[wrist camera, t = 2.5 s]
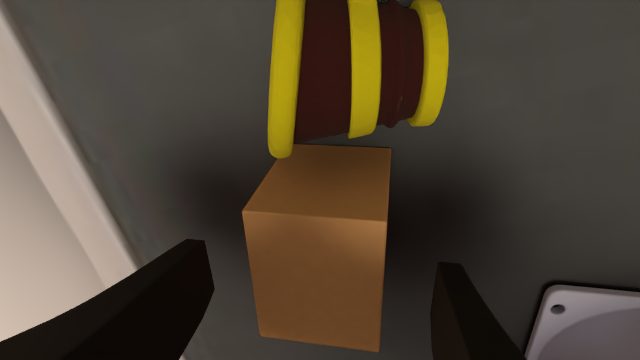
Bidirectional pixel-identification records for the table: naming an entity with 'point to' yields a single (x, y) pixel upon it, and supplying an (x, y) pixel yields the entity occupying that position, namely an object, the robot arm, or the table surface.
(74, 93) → the table surface
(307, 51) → the opera glasses
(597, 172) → the table surface
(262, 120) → the table surface
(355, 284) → the brown rectangular block
